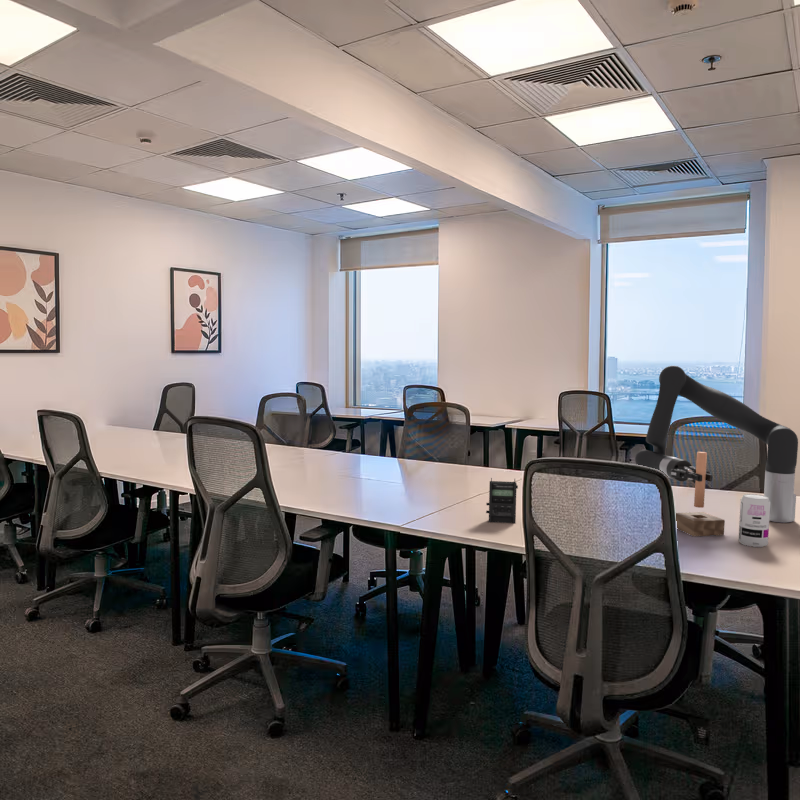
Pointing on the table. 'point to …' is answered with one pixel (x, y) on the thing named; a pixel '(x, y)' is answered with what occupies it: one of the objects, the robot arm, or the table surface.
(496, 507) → the geiger counter
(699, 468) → the peg
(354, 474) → the table surface
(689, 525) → the socket block
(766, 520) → the supplement can
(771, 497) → the robot arm
